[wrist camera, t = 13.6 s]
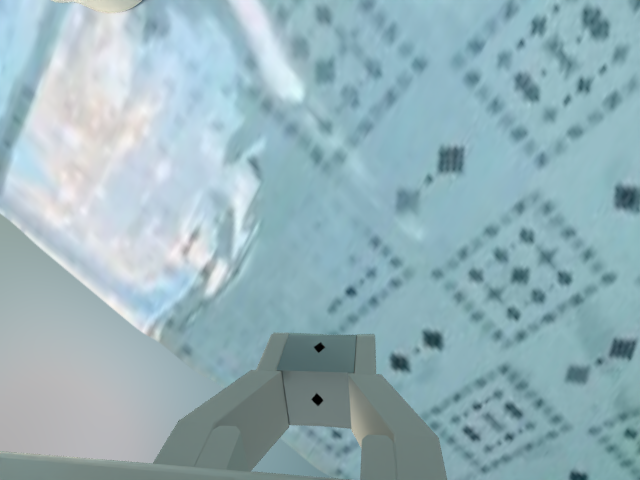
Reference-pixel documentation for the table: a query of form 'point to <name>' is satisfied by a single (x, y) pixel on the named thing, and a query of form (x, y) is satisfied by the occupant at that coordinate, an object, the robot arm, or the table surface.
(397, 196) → the table surface
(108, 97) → the table surface
